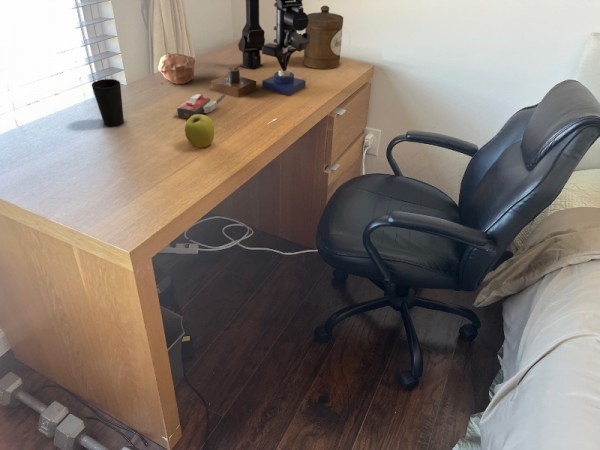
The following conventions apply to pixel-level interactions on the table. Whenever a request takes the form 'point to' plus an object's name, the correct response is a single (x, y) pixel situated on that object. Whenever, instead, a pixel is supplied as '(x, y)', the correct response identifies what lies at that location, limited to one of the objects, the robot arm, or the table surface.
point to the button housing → (284, 84)
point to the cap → (284, 72)
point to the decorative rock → (177, 67)
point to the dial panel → (234, 86)
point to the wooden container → (323, 39)
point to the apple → (199, 130)
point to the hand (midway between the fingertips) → (284, 70)
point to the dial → (233, 75)
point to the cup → (109, 101)
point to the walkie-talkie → (197, 106)
